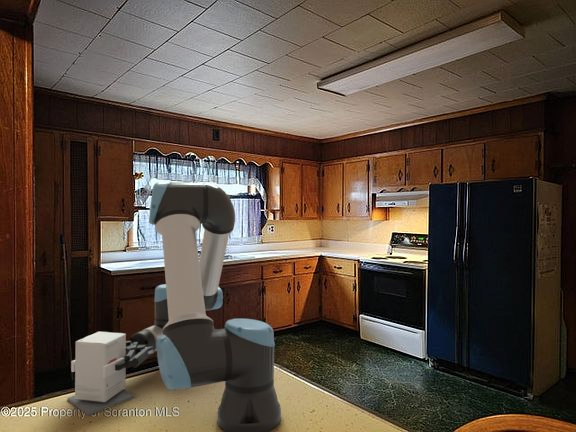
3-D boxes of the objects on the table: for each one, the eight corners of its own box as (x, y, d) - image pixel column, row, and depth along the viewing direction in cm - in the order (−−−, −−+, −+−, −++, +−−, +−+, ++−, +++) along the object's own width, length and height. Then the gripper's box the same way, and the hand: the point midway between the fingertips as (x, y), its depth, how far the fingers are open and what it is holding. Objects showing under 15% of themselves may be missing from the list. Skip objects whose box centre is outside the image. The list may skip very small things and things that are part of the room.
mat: (134, 397, 104) (134, 395, 104) (88, 415, 95) (88, 413, 95) (112, 384, 112) (112, 382, 112) (67, 400, 102) (67, 397, 102)
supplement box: (105, 403, 98) (104, 343, 98) (74, 399, 100) (73, 341, 100) (127, 387, 107) (126, 332, 107) (98, 384, 109) (98, 330, 108)
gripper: (177, 358, 117) (123, 391, 95) (117, 349, 124) (54, 377, 103) (177, 333, 116) (123, 360, 95) (117, 325, 124) (54, 349, 103)
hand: (87, 369), depth 99 cm, fingers closed on supplement box, 9 cm apart
